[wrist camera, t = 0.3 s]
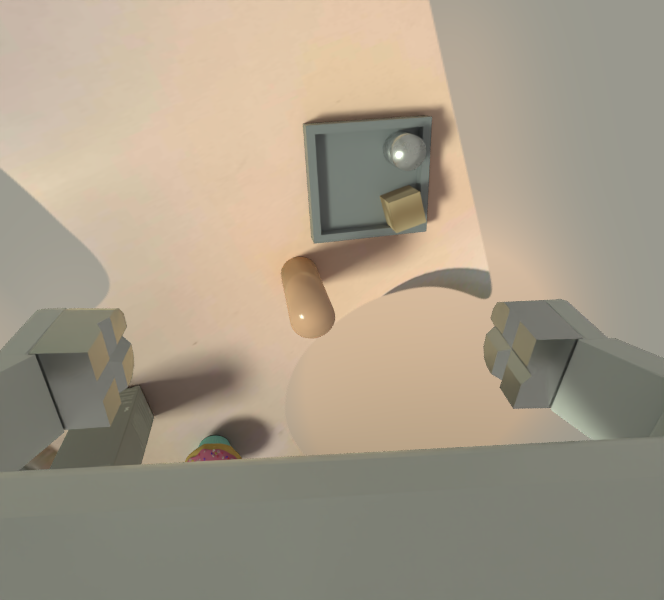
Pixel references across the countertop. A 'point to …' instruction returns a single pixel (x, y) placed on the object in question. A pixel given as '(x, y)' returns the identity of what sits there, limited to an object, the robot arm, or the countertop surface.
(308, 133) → the parts tray
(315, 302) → the canister
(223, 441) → the cupcake
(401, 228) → the part oak
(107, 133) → the countertop surface
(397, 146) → the part metal
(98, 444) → the skincare box
